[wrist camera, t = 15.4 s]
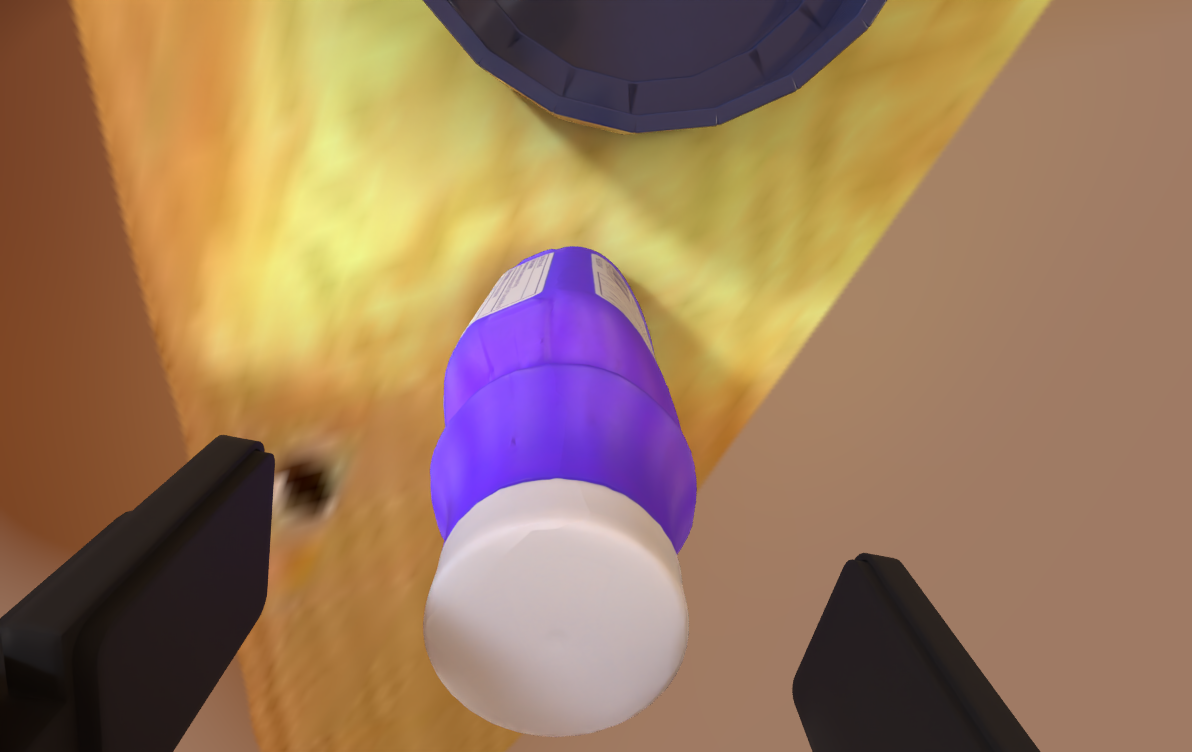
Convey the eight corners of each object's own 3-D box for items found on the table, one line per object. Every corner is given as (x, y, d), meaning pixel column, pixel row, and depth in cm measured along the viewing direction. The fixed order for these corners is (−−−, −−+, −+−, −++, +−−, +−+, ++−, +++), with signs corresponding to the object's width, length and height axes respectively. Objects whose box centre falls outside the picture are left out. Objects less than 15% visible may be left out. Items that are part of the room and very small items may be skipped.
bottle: (469, 271, 25) (260, 516, 9) (606, 216, 25) (653, 368, 8) (543, 429, 28) (487, 853, 11) (669, 382, 27) (805, 759, 11)
